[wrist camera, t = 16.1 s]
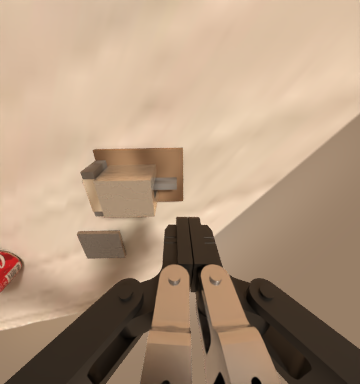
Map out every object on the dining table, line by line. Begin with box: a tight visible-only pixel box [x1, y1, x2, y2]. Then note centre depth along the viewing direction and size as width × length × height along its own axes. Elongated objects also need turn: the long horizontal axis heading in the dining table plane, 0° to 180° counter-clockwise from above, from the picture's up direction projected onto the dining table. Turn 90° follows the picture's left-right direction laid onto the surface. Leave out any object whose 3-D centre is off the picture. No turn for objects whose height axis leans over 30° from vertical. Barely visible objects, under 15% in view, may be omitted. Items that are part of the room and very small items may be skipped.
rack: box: [81, 148, 183, 216], centre depth 24 cm, size 13×9×5 cm
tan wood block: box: [93, 164, 158, 217], centre depth 24 cm, size 7×6×6 cm
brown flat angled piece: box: [77, 231, 126, 258], centre depth 33 cm, size 8×7×1 cm
